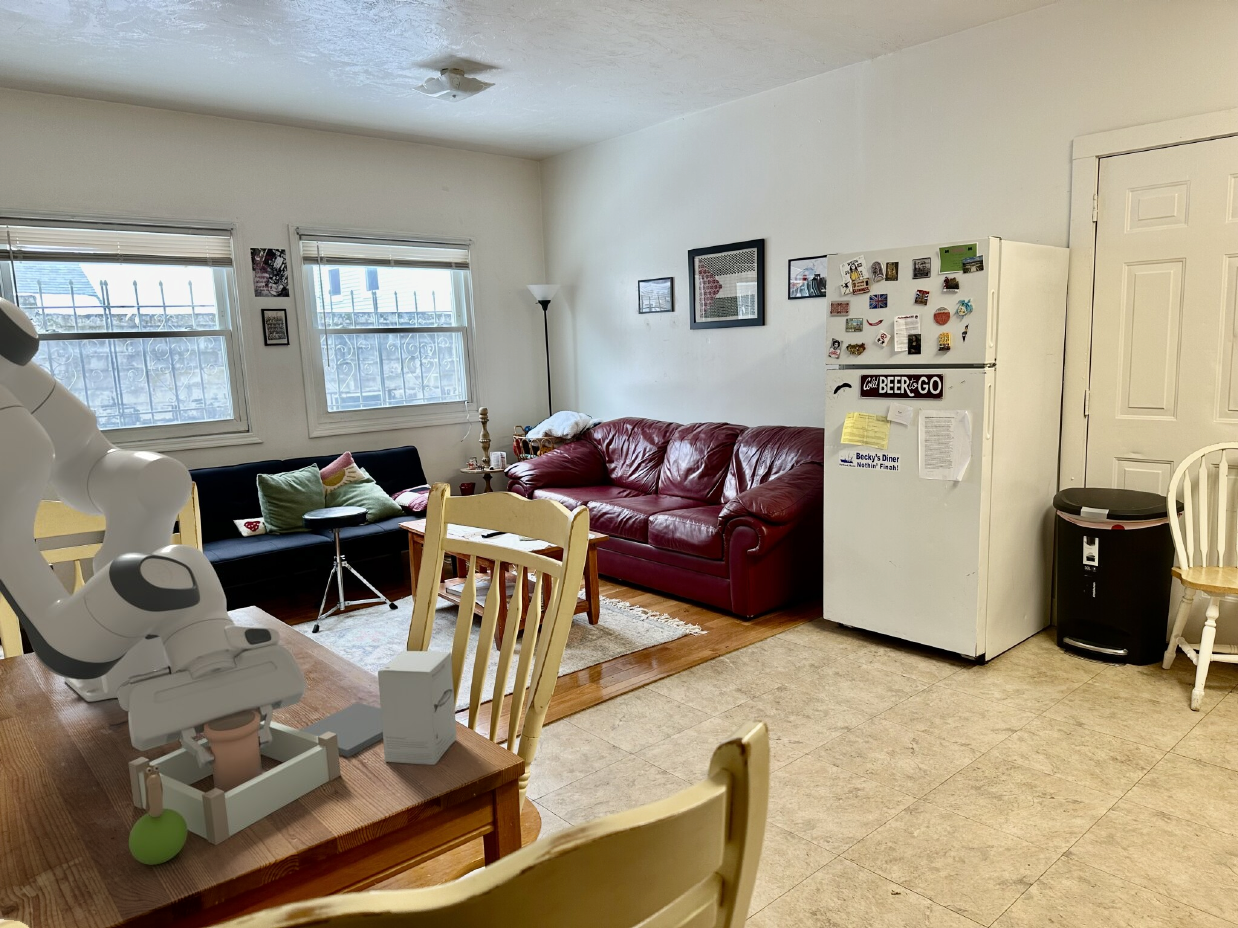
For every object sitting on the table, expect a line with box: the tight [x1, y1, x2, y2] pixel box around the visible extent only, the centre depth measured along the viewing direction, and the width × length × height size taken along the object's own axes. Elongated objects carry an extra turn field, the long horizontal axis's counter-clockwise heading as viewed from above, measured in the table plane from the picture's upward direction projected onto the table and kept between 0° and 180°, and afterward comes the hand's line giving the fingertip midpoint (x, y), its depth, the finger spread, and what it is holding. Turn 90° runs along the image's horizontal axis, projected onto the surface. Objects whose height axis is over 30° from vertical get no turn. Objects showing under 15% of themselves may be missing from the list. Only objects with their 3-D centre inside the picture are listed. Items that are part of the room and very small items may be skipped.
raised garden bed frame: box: [128, 720, 342, 846], centre depth 101 cm, size 17×17×6 cm
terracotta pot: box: [203, 710, 263, 793], centre depth 101 cm, size 6×6×9 cm
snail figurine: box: [128, 765, 188, 865], centre depth 87 cm, size 5×6×12 cm
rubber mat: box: [299, 702, 383, 758], centre depth 116 cm, size 11×11×1 cm
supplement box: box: [377, 650, 458, 766], centre depth 109 cm, size 7×7×13 cm
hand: (237, 754), depth 100 cm, fingers closed on terracotta pot, 5 cm apart
